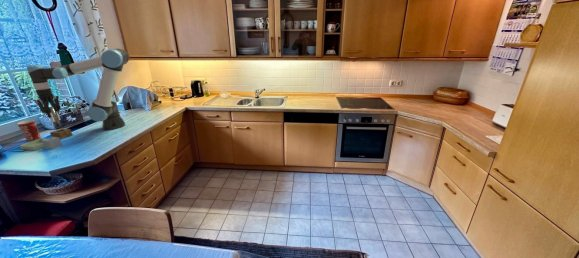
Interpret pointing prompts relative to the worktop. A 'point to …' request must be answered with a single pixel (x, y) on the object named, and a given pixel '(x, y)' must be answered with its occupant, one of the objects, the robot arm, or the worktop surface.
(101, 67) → the robot arm
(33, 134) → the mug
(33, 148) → the tray
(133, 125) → the worktop surface
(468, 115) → the worktop surface
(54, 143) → the block
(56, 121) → the pin gauge
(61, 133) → the bored block
